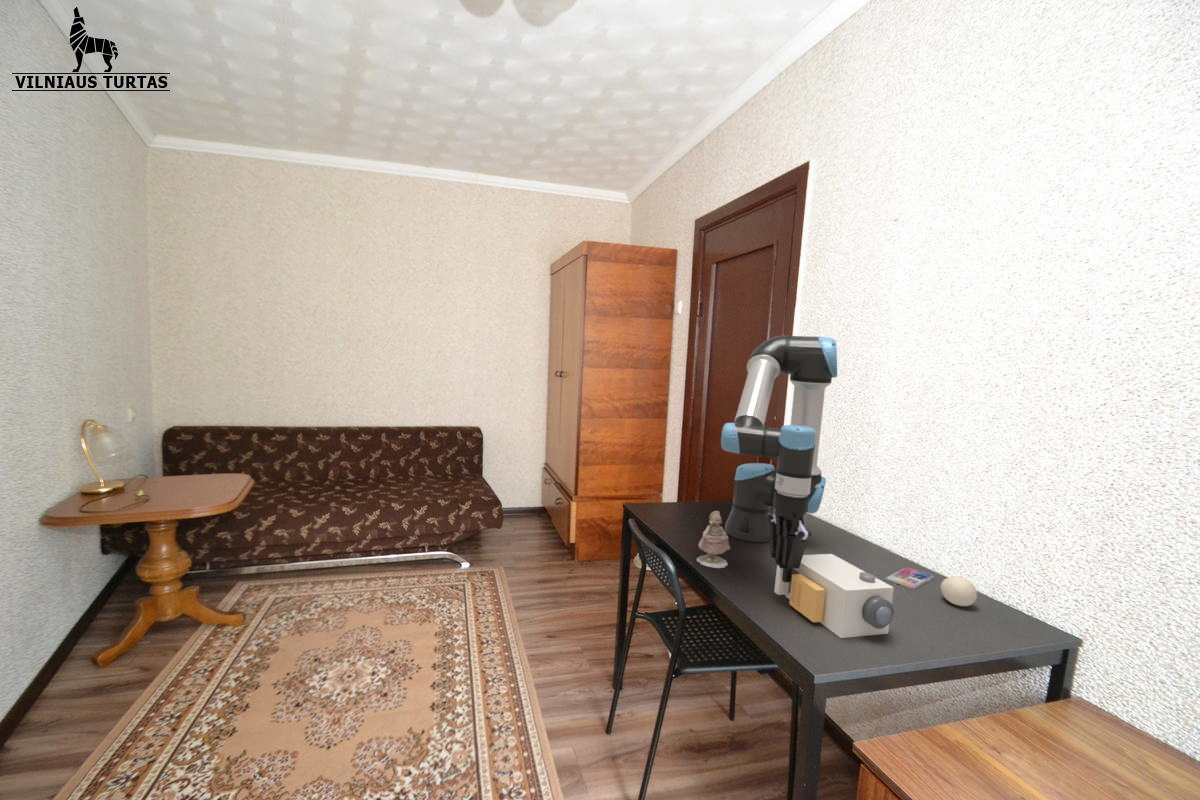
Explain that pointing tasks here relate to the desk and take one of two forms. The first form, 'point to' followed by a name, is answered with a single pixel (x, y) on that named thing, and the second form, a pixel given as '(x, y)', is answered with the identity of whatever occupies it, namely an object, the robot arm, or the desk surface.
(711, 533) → the figurine
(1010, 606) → the desk surface
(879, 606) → the block
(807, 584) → the side door
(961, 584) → the cream round ball
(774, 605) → the desk surface
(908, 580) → the smartphone
